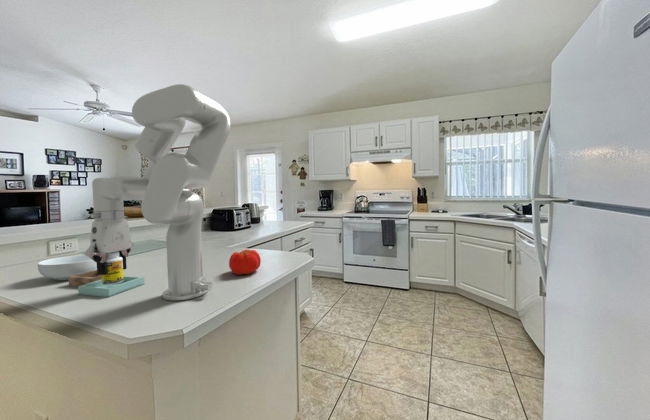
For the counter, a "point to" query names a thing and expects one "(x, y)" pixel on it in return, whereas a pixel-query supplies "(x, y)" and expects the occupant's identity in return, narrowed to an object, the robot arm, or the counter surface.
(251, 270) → the tomato
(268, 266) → the counter surface
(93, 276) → the socket block
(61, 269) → the cereal bowl
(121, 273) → the supplement bottle
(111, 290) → the tray
